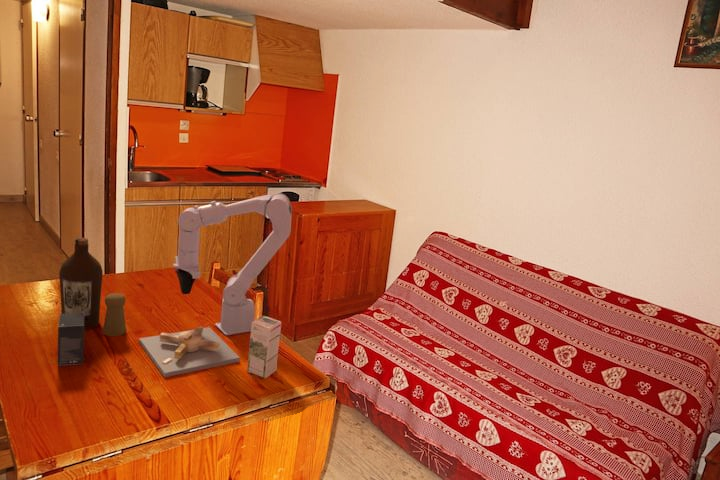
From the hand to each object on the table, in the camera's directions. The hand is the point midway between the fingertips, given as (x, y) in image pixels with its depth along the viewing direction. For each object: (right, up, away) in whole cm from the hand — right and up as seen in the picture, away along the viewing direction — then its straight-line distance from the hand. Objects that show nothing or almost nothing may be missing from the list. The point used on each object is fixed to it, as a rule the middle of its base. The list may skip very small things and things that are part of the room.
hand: (185, 293), depth 157 cm
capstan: (+5, -13, -13) cm, 20 cm away
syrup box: (+26, -19, -17) cm, 36 cm away
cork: (-17, -10, -8) cm, 22 cm away
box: (-21, -14, -24) cm, 35 cm away
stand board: (+5, -15, -13) cm, 20 cm away
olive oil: (-28, -8, -6) cm, 30 cm away
